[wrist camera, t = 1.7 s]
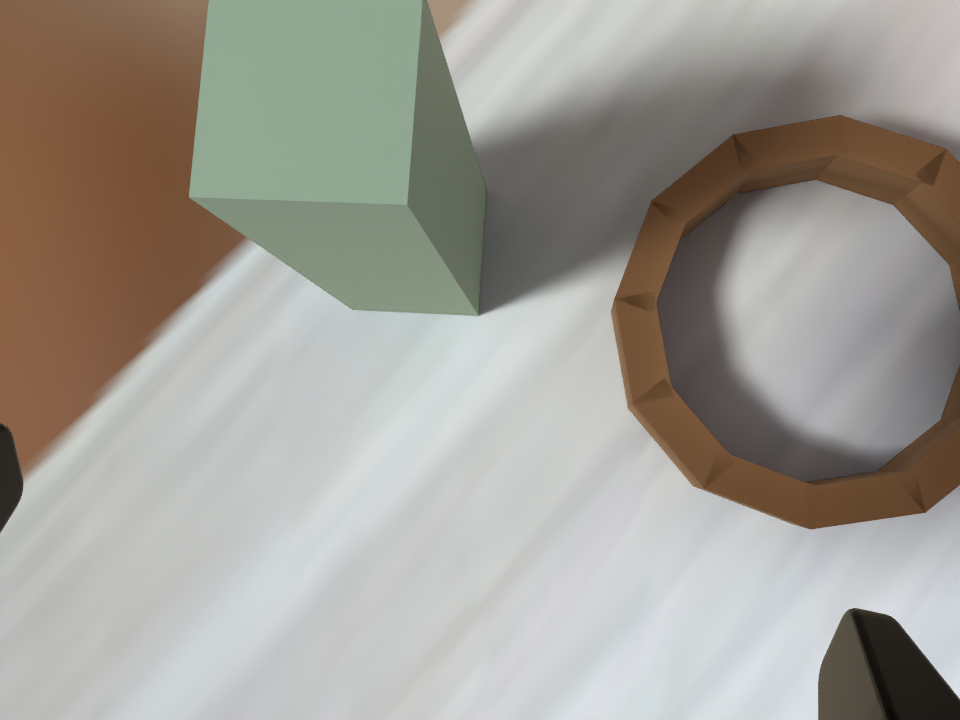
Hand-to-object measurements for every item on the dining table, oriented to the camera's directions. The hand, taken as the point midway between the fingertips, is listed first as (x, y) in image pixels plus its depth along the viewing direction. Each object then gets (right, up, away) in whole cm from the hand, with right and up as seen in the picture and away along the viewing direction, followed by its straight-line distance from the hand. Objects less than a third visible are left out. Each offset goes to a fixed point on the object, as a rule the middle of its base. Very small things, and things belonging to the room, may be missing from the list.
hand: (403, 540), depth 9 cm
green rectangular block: (-1, +5, +16) cm, 17 cm away
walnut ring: (+9, +3, +15) cm, 18 cm away
